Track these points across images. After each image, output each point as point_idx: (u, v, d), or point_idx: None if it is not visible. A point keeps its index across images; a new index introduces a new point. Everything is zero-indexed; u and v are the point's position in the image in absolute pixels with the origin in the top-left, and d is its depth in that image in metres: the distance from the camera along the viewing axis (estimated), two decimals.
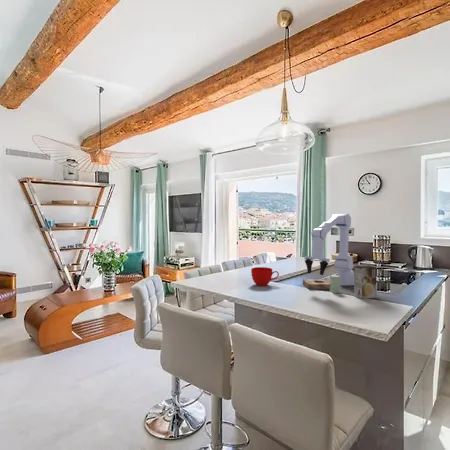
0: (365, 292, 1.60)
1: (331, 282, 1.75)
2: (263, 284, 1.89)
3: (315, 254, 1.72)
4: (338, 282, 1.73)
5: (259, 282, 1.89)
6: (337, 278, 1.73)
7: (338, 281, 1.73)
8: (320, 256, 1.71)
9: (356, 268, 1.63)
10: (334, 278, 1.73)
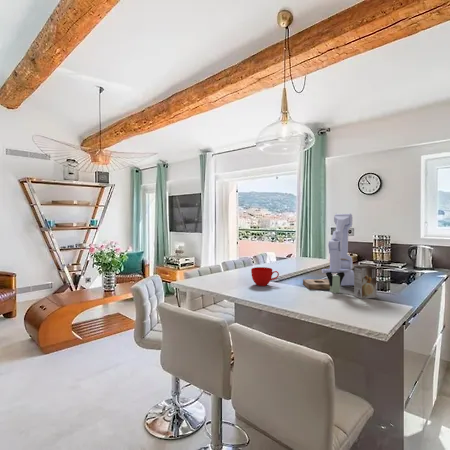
0: (365, 292, 1.60)
1: None
2: (263, 284, 1.89)
3: (337, 267, 1.72)
4: (338, 282, 1.73)
5: (259, 282, 1.89)
6: (337, 278, 1.73)
7: (338, 281, 1.73)
8: (340, 268, 1.74)
9: (356, 268, 1.63)
10: (334, 278, 1.73)
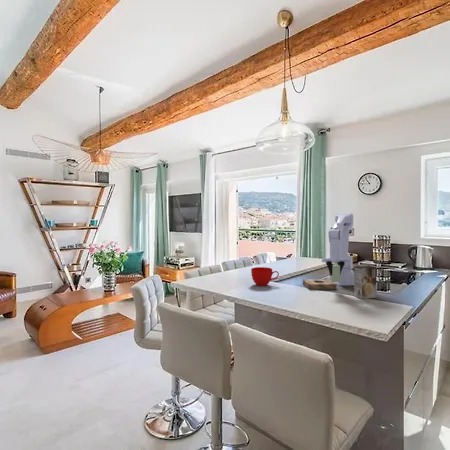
0: (365, 292, 1.60)
1: None
2: (263, 284, 1.89)
3: (337, 256, 1.72)
4: (338, 271, 1.73)
5: (259, 282, 1.89)
6: (337, 268, 1.72)
7: (338, 270, 1.73)
8: None
9: (356, 268, 1.63)
10: (334, 267, 1.72)
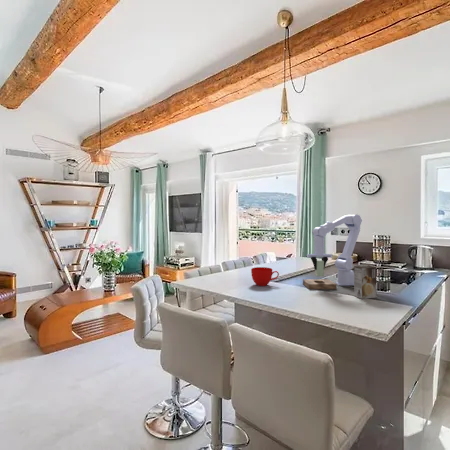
0: (365, 292, 1.60)
1: None
2: (263, 284, 1.89)
3: (321, 252, 1.84)
4: (322, 266, 1.85)
5: (259, 282, 1.89)
6: (321, 263, 1.85)
7: (322, 265, 1.85)
8: None
9: (356, 268, 1.63)
10: (318, 262, 1.85)
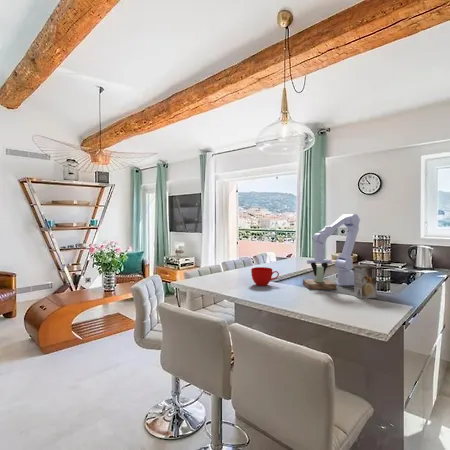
0: (365, 292, 1.60)
1: None
2: (263, 284, 1.89)
3: (321, 258, 1.85)
4: (322, 272, 1.85)
5: (259, 282, 1.89)
6: (321, 269, 1.85)
7: (322, 271, 1.85)
8: None
9: (356, 268, 1.63)
10: (318, 269, 1.85)
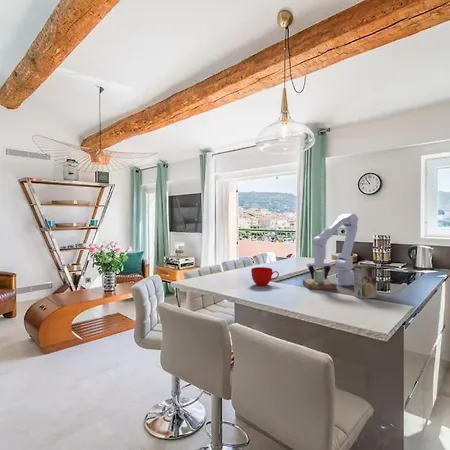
0: (365, 292, 1.60)
1: (315, 277, 1.88)
2: (263, 284, 1.89)
3: (321, 262, 1.85)
4: (322, 277, 1.85)
5: (259, 282, 1.89)
6: (321, 273, 1.85)
7: (322, 276, 1.85)
8: None
9: (356, 268, 1.63)
10: (318, 273, 1.85)
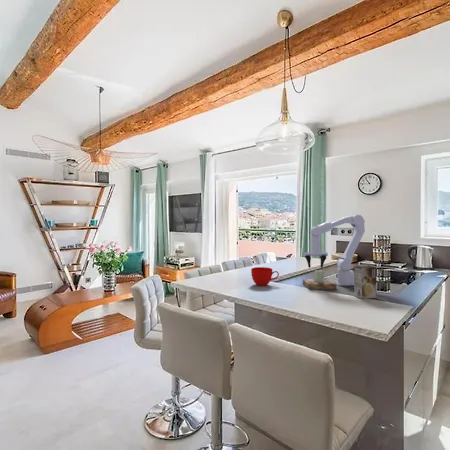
0: (365, 292, 1.60)
1: (315, 277, 1.88)
2: (263, 284, 1.89)
3: (317, 251, 1.92)
4: (322, 277, 1.85)
5: (259, 282, 1.89)
6: (321, 273, 1.85)
7: (322, 276, 1.85)
8: None
9: (356, 268, 1.63)
10: (318, 273, 1.85)
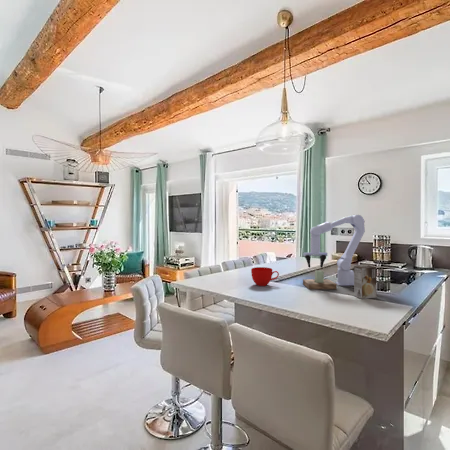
0: (365, 292, 1.60)
1: (315, 277, 1.88)
2: (263, 284, 1.89)
3: (317, 250, 1.93)
4: (322, 277, 1.85)
5: (259, 282, 1.89)
6: (321, 273, 1.85)
7: (322, 276, 1.85)
8: None
9: (356, 268, 1.63)
10: (318, 273, 1.85)
